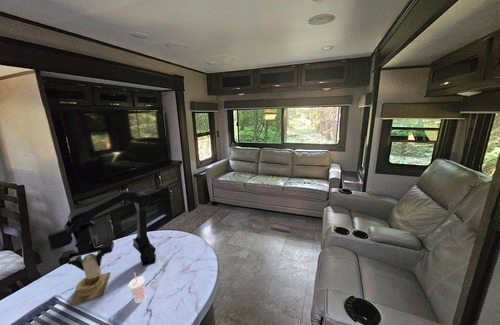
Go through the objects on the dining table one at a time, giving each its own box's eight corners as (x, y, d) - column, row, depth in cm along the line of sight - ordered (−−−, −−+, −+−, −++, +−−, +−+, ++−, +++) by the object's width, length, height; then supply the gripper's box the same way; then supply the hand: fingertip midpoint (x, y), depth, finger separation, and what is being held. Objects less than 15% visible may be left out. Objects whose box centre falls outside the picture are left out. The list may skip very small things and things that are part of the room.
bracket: (110, 273, 103) (108, 267, 101) (102, 296, 90) (100, 289, 89) (81, 281, 98) (79, 275, 97) (69, 306, 86) (67, 299, 85)
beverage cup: (141, 305, 85) (135, 279, 81) (129, 303, 86) (122, 277, 82) (151, 293, 91) (145, 267, 87) (139, 291, 92) (133, 266, 88)
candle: (93, 280, 88) (88, 261, 86) (83, 278, 89) (77, 259, 86) (104, 270, 93) (99, 252, 91) (94, 269, 94) (89, 251, 92)
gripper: (113, 223, 97) (119, 250, 101) (64, 233, 90) (73, 262, 94) (107, 236, 87) (115, 265, 91) (52, 248, 80) (62, 280, 84)
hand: (92, 267), depth 90 cm, fingers closed on candle, 5 cm apart
